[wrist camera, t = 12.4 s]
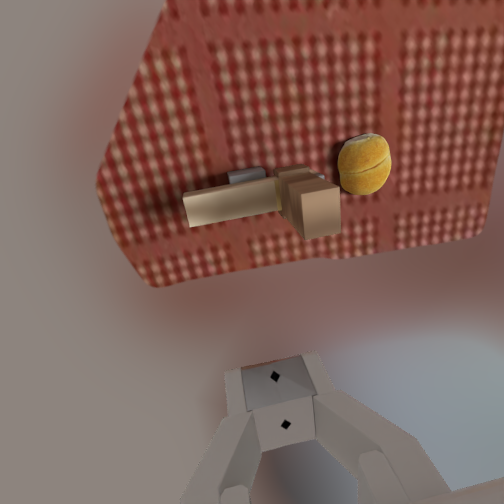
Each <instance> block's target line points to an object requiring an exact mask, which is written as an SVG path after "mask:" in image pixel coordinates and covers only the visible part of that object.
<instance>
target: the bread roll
mask: <svg viewBox="0 0 504 504" xmlns="http://www.w3.org/2000/svg"><path fill="white" fill-rule="evenodd" d="M338 169H339V174H340V183H341V186H342V188H343V189H345V190H346V191H348V192H349V193H352V194H355V195H366V194H370V193H373V192H375V191H377V190H378V189H379V188H381V186H382V185H383V184H384V183H385V181H386V180H387V178H388V175H389V173H390V170H391V158H390V152H389V146H388V144H387V142H386V140H385V139H384V138H383V137H382V136H379V135H376V134H372V133H369V134H364V135H360V136H357V137H355V138H352V139H350V140H348V141H346V142H345V144H344V146H343V148H342V149H341V151H340V153H339V156H338Z"/></svg>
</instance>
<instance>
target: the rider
mask: <svg viewBox="0 0 504 504" xmlns="http://www.w3.org/2000/svg"><path fill="white" fill-rule="evenodd" d="M273 171H274V175H275V176H276V177H277V178H278V180H279V189H280V198H281V206H282V210H280V211H278V212H279V214H280V215H281V216H282V217H283V218H284V219H286V218H287V220H288V221H289V222H290V223H291V224H292V225H293V227H294V228H295V229H296V230H297V231H298V232H299V234H300V235H301V236H302V237H303V238H304V240H308V239H313V238H318V237H323V236H328V235H333V234H338V233H341V218H340V187H339V186H337V185H335V184H333V183H331V182H329V181H327V180H325V179H323V178H321V177H319V176H317V175H315V174H313V173H311V172H309V167H308V166H305V165H303V164H297V165H292V166H287V167H281V168H276V169H273Z"/></svg>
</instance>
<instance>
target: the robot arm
mask: <svg viewBox="0 0 504 504" xmlns="http://www.w3.org/2000/svg"><path fill="white" fill-rule="evenodd" d="M224 376H225V387H226V398H227V408H228V417H224V418H223V419H222V421H221V423H220V425H219V427H218V429H217V431H216V432H215V434H214V436H213V438H212V440H211V442H210V444H209V446H208V448H207V449H206V451H205V453H204V455H203V457H202V459H201V461H200V462H199V464H198V466H197V468H196V470H195V472H194V474H193V476H192V477H191V479H190V481H189V483H188V485H187V487H186V489H185V491H184V492H183V494H182V496H181V498H180V504H252V503H251V499H250V495H249V494H250V491H251V488H252V484H253V481H254V477H255V475H256V471H257V468H258V465H259V462H260V459H261V455H262V453H261V452H265V451H268V450H272V449H275V448H279V447H282V446H286V445H289V444H294V443H298V442H303V441H308V440H312V439H317V441H318V442H319V443H320V444H321V445H322V446H324V448H325V449H326V450H327V451H328V452H329V453H330V454H331V455H332V456H333V457H334V458H335V459H337V460H338V461H339V462H340V463H341V464H342V465H343V466H344V467H345V468H346V469H347V470H348V471H349V472H350V473H351V474H352V475H353V476H354V477H355V478H356V479H357V480H358V504H504V477H502V478H499V479H495V480H491V481H488V482H484V483H481V484H477V485H473V486H470V487H466V488H462V489H459V490H455V491H451V490H450V488H449V487H448V485H447V484H446V482H445V481H444V479H443V478H442V476H441V475H440V474H439V472H438V470H437V469H436V467H435V466H434V464H433V463H432V462H431V460H430V458H429V457H428V455H427V454H426V452H425V451H424V450H423V448H422V447H421V445H420V443H419V442H418V441H417V439H416V438H415V437H413V436H412V435H410V434H408V433H407V432H405V431H404V430H402V429H401V428H399V427H398V426H396V425H394V424H393V423H391V422H390V421H388V420H387V419H385V418H384V417H382V416H381V415H379V414H378V413H376V412H374V411H373V410H371V409H370V408H368V407H367V406H365V405H364V404H362V403H361V402H359V401H357V400H356V399H354V398H353V397H351V396H350V395H348V394H347V393H345V392H343V391H342V390H337V391H336V390H335V388H334V386H333V384H332V382H331V380H330V378H329V376H328V374H327V372H326V370H325V367H324V365H323V363H322V361H321V359H320V357H319V355H318V353H317V352H316V351H311V352H307V353H303V354H300V355H299V354H298V355H294V356H290V357H286V358H282V359H277V360H273V361H270V362H265V363H260V364H255V365H250V366H245V367H241V368H237V369H232V370H227V371H225V375H224Z"/></svg>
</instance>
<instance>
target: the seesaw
mask: <svg viewBox="0 0 504 504" xmlns="http://www.w3.org/2000/svg"><path fill="white" fill-rule="evenodd" d="M309 172H311V173H313V174H315V175H317V176H319V177H321V178H323V179H324V175H322V174H320V173H318V172H316V171H314V170H312V169H310V170H309ZM227 174H228V180H229V185H223V186H218V187H213V188H207V189H202V190H196V191H191V192H186V193H184V194H183V201H184V205H185V209H186V213H187V217H188V221H189V225H190V227H194V226H199V225H205V224H210V223H215V222H220V221H225V220H230V219H235V218H241V217H246V216H251V215H257V214H262V213H267V212H271V211H277V210H278V211H280V210H282V206H281V198H280V189H279V180H278V178H277V177H276V176H272V177H267V178H266V173H265V170H264V169H263V168H262V167H260V166H258V167H253V168H247V169H242V170H236V171H231V172H227Z"/></svg>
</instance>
